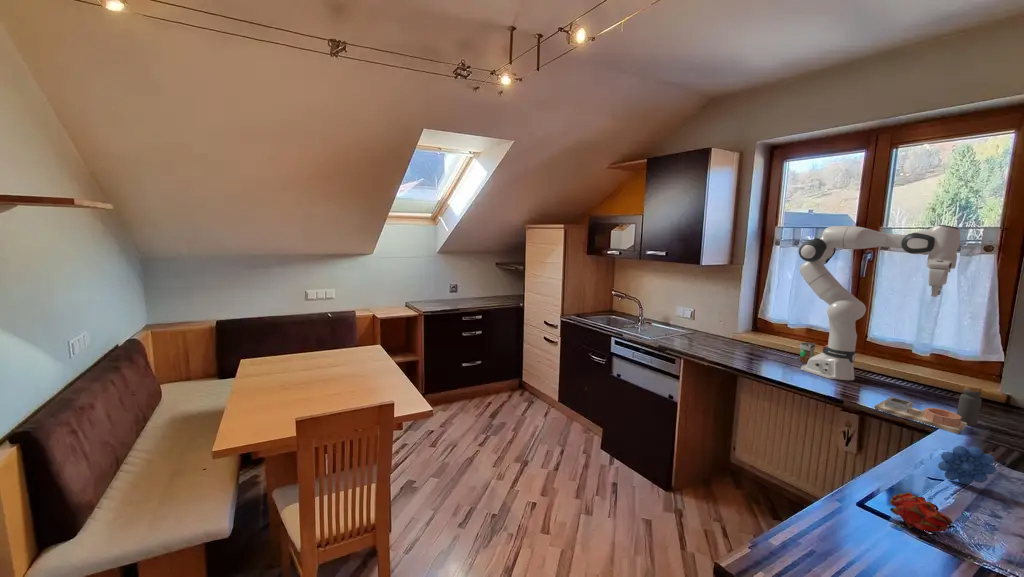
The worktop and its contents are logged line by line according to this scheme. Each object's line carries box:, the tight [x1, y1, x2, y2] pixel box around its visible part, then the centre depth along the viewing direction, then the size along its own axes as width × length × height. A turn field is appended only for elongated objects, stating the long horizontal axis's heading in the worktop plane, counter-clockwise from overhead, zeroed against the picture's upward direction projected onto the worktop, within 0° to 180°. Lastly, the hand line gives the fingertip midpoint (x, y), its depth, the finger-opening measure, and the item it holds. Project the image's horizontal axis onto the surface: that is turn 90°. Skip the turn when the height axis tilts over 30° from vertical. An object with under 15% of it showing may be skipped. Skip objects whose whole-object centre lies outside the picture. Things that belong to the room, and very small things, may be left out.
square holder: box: [885, 396, 914, 413], centre depth 181 cm, size 7×7×3 cm
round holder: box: [923, 407, 962, 426], centre depth 170 cm, size 10×10×3 cm
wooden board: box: [874, 399, 968, 435], centre depth 176 cm, size 25×12×2 cm, turn 35°
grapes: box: [937, 445, 997, 486], centre depth 129 cm, size 12×7×12 cm, turn 54°
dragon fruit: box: [889, 491, 955, 534], centre depth 109 cm, size 8×8×12 cm
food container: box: [798, 342, 816, 365], centre depth 246 cm, size 12×6×10 cm, turn 135°
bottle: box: [956, 383, 983, 427], centre depth 172 cm, size 6×6×15 cm
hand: (935, 295), depth 190 cm, fingers open, 8 cm apart
